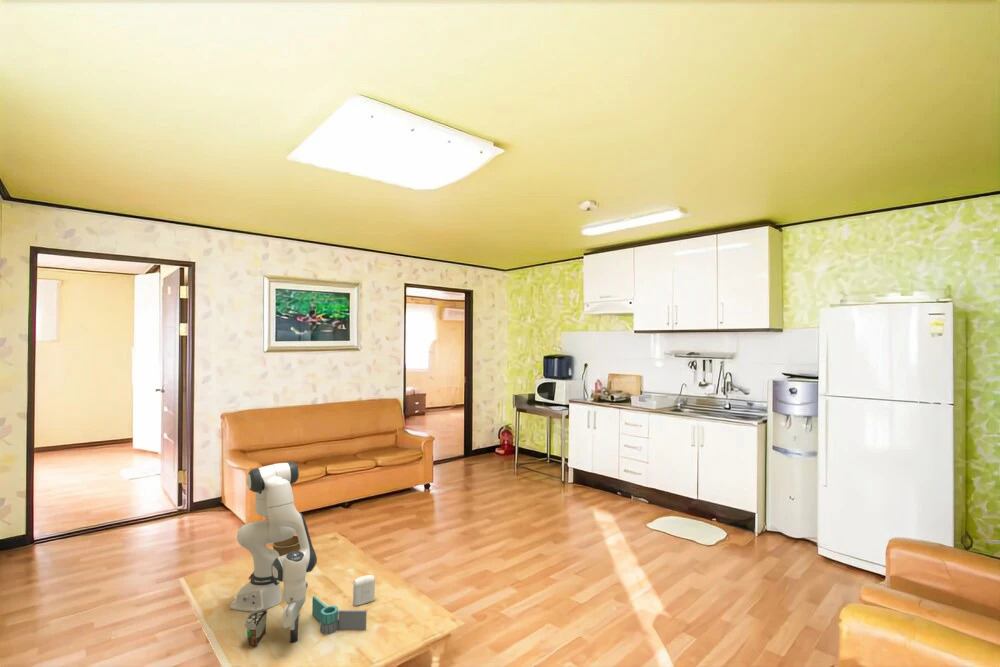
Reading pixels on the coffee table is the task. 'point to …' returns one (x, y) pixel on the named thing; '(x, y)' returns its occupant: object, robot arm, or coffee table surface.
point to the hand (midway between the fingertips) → (294, 625)
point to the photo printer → (363, 590)
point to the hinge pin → (294, 632)
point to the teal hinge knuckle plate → (324, 611)
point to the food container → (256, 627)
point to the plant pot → (287, 546)
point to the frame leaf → (346, 621)
